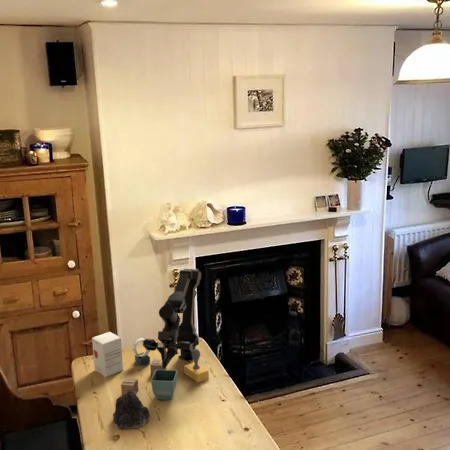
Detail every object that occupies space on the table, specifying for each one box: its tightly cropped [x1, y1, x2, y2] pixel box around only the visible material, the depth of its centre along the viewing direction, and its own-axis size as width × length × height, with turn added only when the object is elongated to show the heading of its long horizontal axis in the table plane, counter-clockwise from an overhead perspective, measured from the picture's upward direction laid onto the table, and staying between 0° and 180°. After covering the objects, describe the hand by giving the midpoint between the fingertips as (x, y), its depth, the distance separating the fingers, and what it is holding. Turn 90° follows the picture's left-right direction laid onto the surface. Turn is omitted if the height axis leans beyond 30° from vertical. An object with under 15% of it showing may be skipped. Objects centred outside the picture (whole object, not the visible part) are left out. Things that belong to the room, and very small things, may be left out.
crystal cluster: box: [112, 391, 151, 430], centre depth 203 cm, size 13×14×10 cm
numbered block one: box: [120, 377, 140, 397], centre depth 221 cm, size 5×5×5 cm
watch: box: [132, 337, 151, 367], centre depth 245 cm, size 6×8×11 cm
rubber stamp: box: [183, 348, 210, 383], centre depth 233 cm, size 10×6×12 cm, turn 36°
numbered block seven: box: [149, 358, 167, 377], centre depth 236 cm, size 5×5×5 cm
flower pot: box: [150, 369, 179, 401], centre depth 218 cm, size 9×9×9 cm
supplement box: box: [91, 331, 124, 378], centre depth 239 cm, size 9×9×15 cm
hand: (164, 367), depth 216 cm, fingers closed
